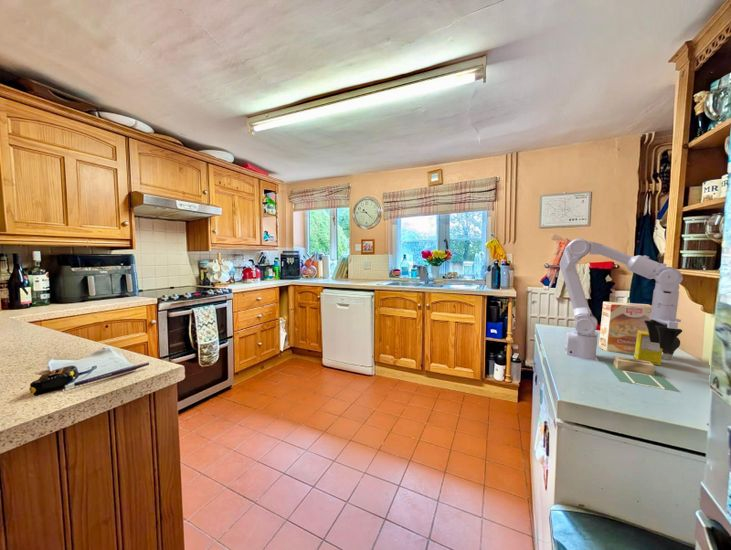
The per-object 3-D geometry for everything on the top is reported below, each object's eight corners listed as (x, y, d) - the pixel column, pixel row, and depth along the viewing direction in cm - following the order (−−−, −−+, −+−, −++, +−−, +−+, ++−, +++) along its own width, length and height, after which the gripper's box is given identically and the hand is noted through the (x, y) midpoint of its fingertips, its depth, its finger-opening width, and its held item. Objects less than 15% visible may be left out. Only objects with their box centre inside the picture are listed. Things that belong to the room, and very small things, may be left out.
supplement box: (655, 362, 104) (659, 333, 103) (660, 367, 99) (665, 336, 98) (633, 358, 107) (637, 329, 106) (636, 363, 102) (641, 333, 101)
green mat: (619, 383, 86) (619, 380, 86) (604, 363, 102) (604, 361, 102) (680, 394, 80) (680, 391, 80) (654, 371, 96) (654, 369, 96)
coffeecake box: (606, 352, 114) (611, 303, 112) (597, 347, 120) (602, 301, 119) (653, 357, 109) (659, 306, 108) (642, 351, 116) (647, 303, 115)
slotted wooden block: (617, 369, 95) (618, 360, 95) (613, 364, 99) (614, 355, 99) (654, 375, 91) (655, 365, 91) (648, 370, 95) (649, 361, 95)
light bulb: (680, 364, 103) (683, 337, 102) (658, 361, 106) (661, 334, 105) (674, 359, 108) (677, 333, 107) (654, 356, 110) (656, 330, 110)
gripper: (694, 309, 85) (688, 354, 86) (671, 302, 98) (666, 341, 99) (661, 306, 88) (656, 350, 89) (643, 300, 101) (639, 338, 102)
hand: (659, 345), depth 94 cm, fingers open, 7 cm apart
